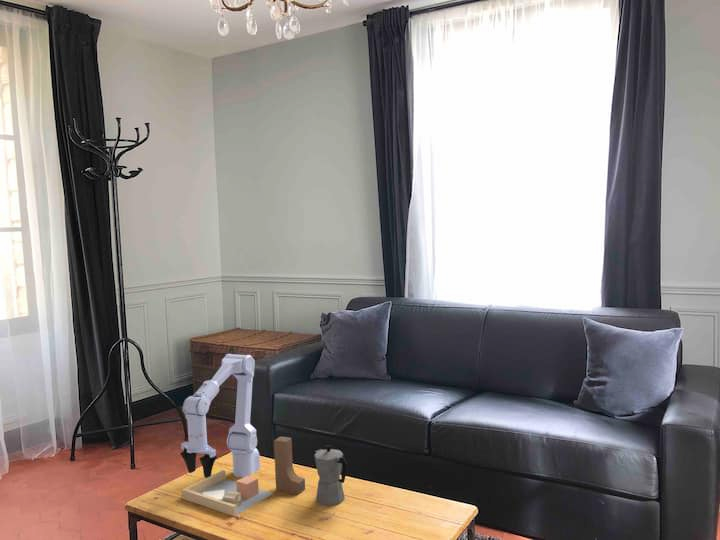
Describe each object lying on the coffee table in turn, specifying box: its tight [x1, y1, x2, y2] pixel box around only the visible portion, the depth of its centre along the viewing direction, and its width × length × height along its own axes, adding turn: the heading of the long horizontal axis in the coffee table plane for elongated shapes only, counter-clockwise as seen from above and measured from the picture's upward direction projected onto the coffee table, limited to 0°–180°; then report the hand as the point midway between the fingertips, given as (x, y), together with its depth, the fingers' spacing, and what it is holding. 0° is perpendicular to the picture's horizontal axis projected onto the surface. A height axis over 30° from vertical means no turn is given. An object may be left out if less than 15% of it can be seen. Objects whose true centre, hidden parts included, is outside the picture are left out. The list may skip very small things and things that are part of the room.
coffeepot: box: [313, 444, 349, 507], centre depth 191 cm, size 15×9×18 cm, turn 43°
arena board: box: [181, 469, 275, 517], centre depth 195 cm, size 18×24×4 cm
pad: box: [203, 490, 224, 500], centre depth 196 cm, size 7×7×1 cm
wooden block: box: [273, 435, 306, 495], centre depth 198 cm, size 9×4×18 cm, turn 66°
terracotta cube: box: [235, 475, 260, 499], centre depth 196 cm, size 5×5×5 cm
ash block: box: [223, 491, 241, 508], centre depth 187 cm, size 4×4×4 cm
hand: (199, 474), depth 192 cm, fingers open, 7 cm apart
